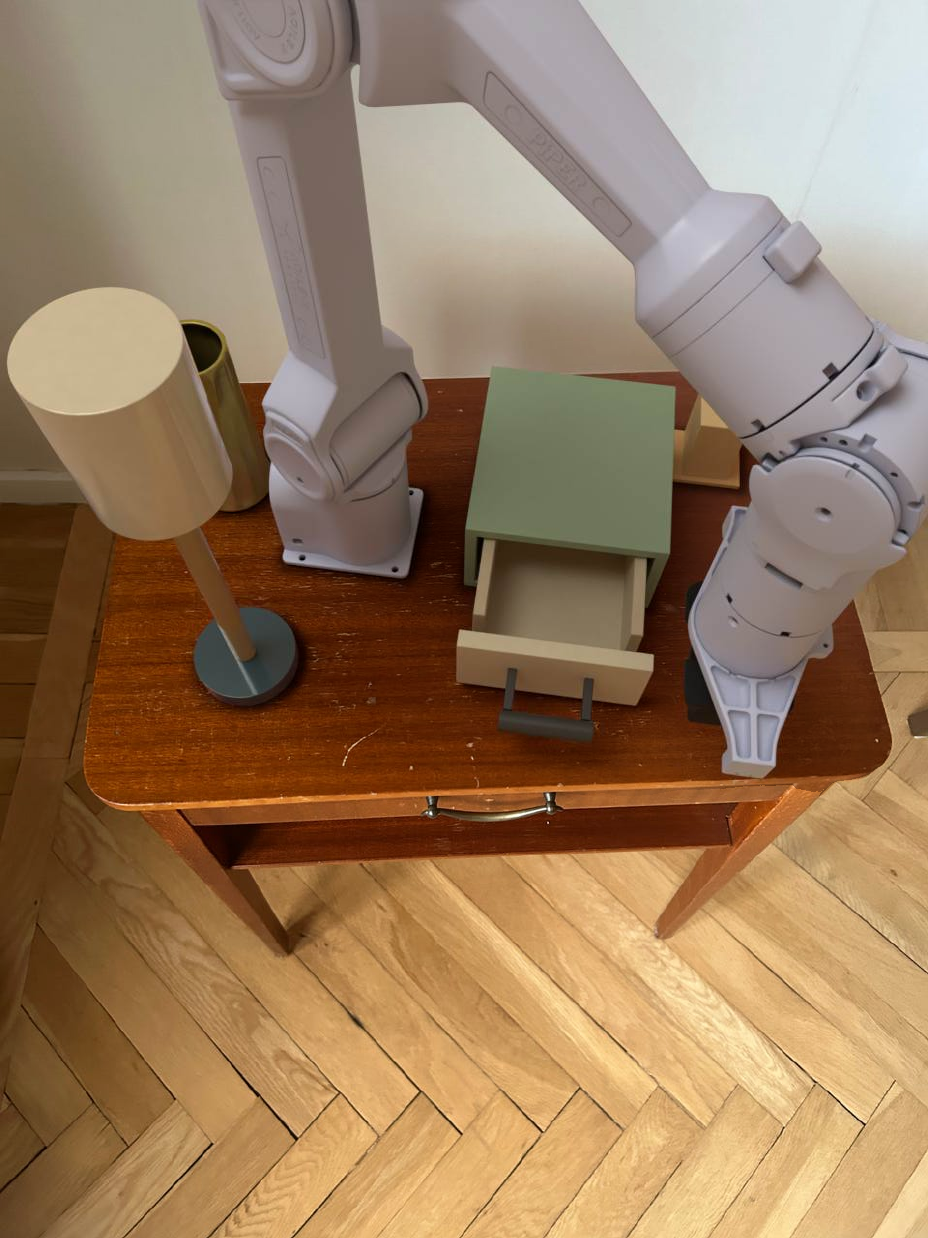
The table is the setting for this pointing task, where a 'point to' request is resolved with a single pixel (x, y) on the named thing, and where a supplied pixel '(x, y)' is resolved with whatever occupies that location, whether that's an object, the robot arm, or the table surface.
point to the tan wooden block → (708, 444)
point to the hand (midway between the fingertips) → (705, 696)
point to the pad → (730, 482)
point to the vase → (229, 415)
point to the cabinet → (574, 467)
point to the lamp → (148, 458)
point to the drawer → (556, 632)
